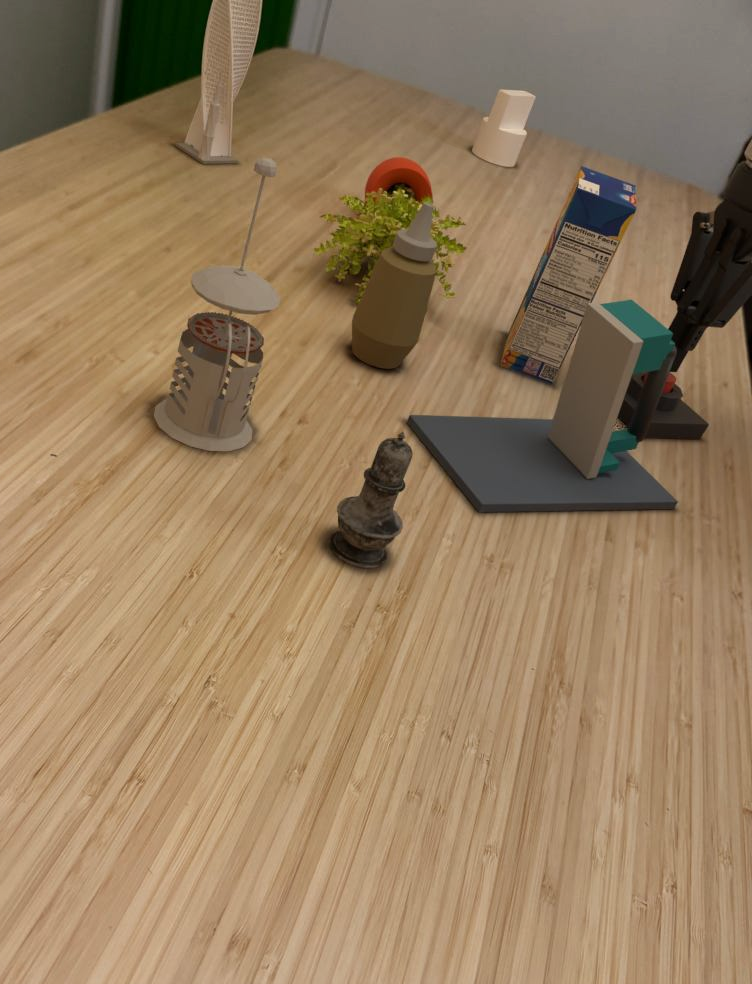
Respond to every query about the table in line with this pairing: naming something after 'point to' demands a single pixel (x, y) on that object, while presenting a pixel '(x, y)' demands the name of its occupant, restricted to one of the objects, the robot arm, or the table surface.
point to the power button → (669, 382)
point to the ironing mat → (530, 468)
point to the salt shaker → (373, 508)
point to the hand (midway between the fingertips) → (664, 368)
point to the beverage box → (569, 274)
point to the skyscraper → (222, 78)
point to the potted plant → (388, 219)
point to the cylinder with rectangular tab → (504, 128)
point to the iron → (610, 384)
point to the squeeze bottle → (396, 296)
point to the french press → (219, 355)
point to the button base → (664, 413)
